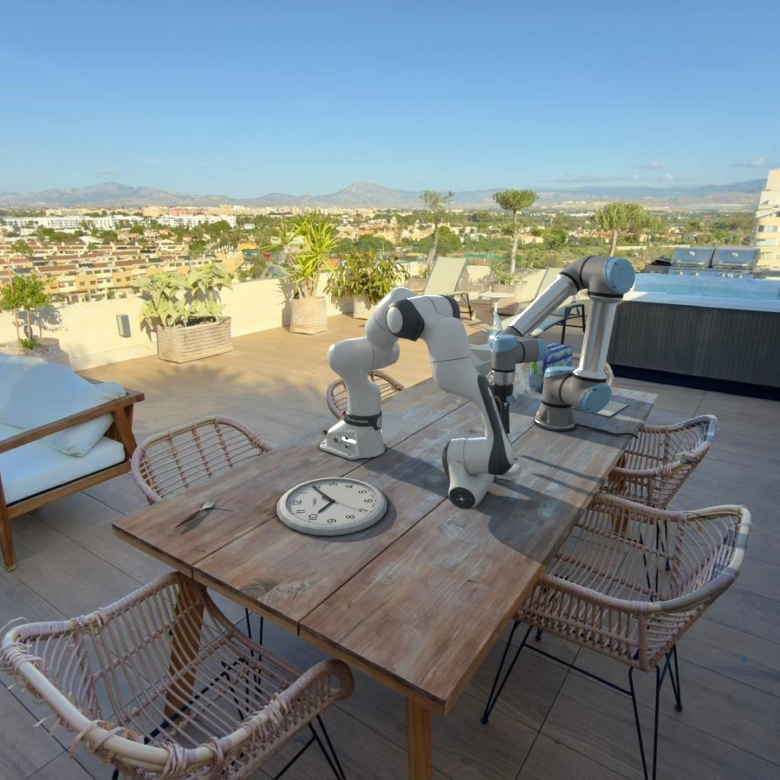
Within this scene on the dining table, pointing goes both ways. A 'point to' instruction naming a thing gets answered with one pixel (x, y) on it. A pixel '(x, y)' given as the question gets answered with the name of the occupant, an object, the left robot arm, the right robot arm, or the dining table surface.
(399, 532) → the dining table surface
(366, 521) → the wall clock
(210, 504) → the fork
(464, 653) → the dining table surface
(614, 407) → the invitation card
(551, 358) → the lunch box
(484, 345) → the white plastic object
